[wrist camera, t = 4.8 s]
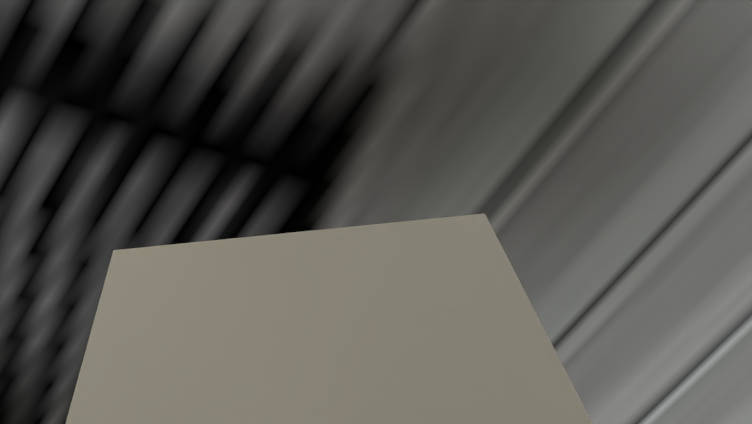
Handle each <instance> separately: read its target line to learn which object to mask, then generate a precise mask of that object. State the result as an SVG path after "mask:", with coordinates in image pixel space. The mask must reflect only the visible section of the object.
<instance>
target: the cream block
mask: <svg viewBox="0 0 752 424" xmlns="http://www.w3.org/2000/svg"><path fill="white" fill-rule="evenodd" d="M65 424H592V422H591V420H590V418H589V416H588V414H587V412H586V410H585V408H584V406H583V404H582V402H581V400H580V398H579V396H578V394H577V392H576V390H575V388H574V386H573V384H572V383H571V381H570V379H569V377H568V375H567V373H566V371H565V369H564V367H563V365H562V363H561V361H560V359H559V357H558V355H557V353H556V351H555V349H554V347H553V345H552V344H551V342H550V340H549V338H548V336H547V334H546V332H545V330H544V328H543V326H542V324H541V322H540V320H539V318H538V316H537V314H536V312H535V310H534V308H533V306H532V305H531V303H530V301H529V299H528V297H527V295H526V293H525V291H524V289H523V287H522V285H521V283H520V281H519V279H518V277H517V275H516V273H515V271H514V269H513V267H512V265H511V264H510V262H509V260H508V258H507V256H506V254H505V252H504V250H503V248H502V246H501V244H500V242H499V240H498V238H497V236H496V234H495V232H494V230H493V228H492V226H491V225H490V223H489V221H488V219H487V217H486V215H485V213H484V214H473V215H463V216H453V217H443V218H433V219H423V220H413V221H403V222H393V223H383V224H373V225H363V226H353V227H343V228H333V229H323V230H313V231H302V232H292V233H282V234H272V235H262V236H252V237H242V238H232V239H222V240H212V241H202V242H192V243H182V244H172V245H162V246H152V247H142V248H131V249H121V250H113V254H112V257H111V261H110V265H109V268H108V272H107V275H106V279H105V283H104V286H103V290H102V294H101V297H100V301H99V304H98V308H97V312H96V315H95V319H94V322H93V326H92V330H91V333H90V337H89V340H88V344H87V348H86V351H85V355H84V359H83V362H82V366H81V369H80V373H79V377H78V380H77V384H76V387H75V391H74V395H73V398H72V402H71V405H70V409H69V413H68V416H67V420H66V423H65Z"/></svg>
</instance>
